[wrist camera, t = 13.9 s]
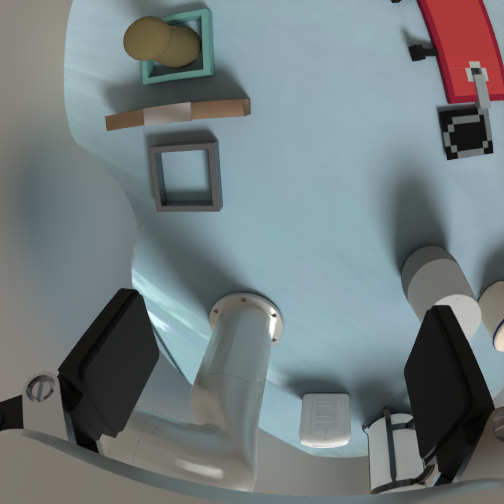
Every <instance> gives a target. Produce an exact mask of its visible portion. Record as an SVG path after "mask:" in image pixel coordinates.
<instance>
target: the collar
mask: <svg viewBox="0 0 504 504" xmlns="http://www.w3.org/2000/svg"><path fill="white" fill-rule="evenodd" d="M160 19H162V20H164V21H165V22H166V23H167V24H168V25H171V24H176V23H181V22H186V21H192V20H198V19H201V21H202V48H203V70H195V71H188V72H181V73H174V74H168V75H162V76H157V77H154V60H149V61H142V80H143V85H152V84H157V83H163V82H169V81H176V80H183V79H190V78H199V77H208V76H215V74H214V52H213V27H212V12H211V11H210V10H209V9H201V10H195V11H190V12H184V13H179V14H174V15H170V16H165V17H161V18H160Z"/></svg>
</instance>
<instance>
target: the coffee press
mask: <svg viewBox="0 0 504 504" xmlns="http://www.w3.org/2000/svg"><path fill="white" fill-rule="evenodd" d="M383 411H384V416H385V417H383V418H381V419H379V420H377V421H376V422H374V423H373V424H372V425H371V427H369V426H364V427H363V428H362V430H363V431H364V429H366V428H369V432H368V434H369V436H368V434H367V433H366V432H365V431H364V433H366V434H367V436H368V452H369V475H370V495H372V494H383V493H392V492H401V491H408V490H416V489H422V488H426V480H427V478H429V477H430V476H431V474H432V473H433V471H434V468H435V464H434V465H428V466H426V468H425V470H423V468H424V465H423V464H424V463H422V461H423V459H421V458H420V456H419V450H418V443H417V437H416V431H415V425H414V420H413V414H412V415H408V414H392V415H391V413H390V409H389V406H388V407H385V408H383Z"/></svg>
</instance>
